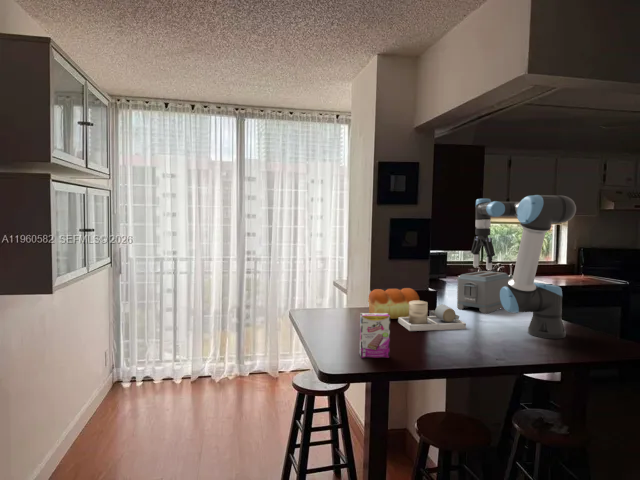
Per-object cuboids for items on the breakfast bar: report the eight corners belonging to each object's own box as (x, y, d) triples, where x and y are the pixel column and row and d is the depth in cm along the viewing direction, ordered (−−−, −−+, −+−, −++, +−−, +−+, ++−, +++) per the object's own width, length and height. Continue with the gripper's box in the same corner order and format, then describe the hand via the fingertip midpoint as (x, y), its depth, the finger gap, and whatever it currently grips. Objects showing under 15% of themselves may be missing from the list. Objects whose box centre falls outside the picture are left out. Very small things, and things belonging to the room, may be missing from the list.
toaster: (452, 310, 251) (453, 275, 250) (480, 302, 274) (481, 270, 273) (483, 315, 238) (484, 278, 237) (510, 306, 260) (510, 273, 259)
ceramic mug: (444, 324, 210) (442, 308, 209) (435, 320, 218) (434, 305, 217) (463, 320, 213) (461, 305, 212) (453, 316, 221) (452, 301, 220)
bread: (410, 312, 244) (410, 286, 244) (419, 317, 232) (420, 290, 231) (368, 314, 240) (368, 288, 239) (375, 319, 227) (375, 291, 227)
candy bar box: (360, 358, 164) (361, 315, 163) (359, 354, 169) (359, 312, 168) (390, 358, 164) (390, 315, 163) (387, 354, 169) (388, 312, 168)
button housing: (449, 319, 226) (449, 313, 226) (435, 320, 225) (435, 313, 225) (443, 316, 234) (443, 310, 234) (429, 317, 233) (429, 310, 233)
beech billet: (429, 324, 209) (429, 304, 208) (410, 324, 208) (411, 304, 208) (424, 320, 218) (425, 300, 217) (407, 320, 217) (407, 300, 217)
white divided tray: (465, 328, 208) (465, 323, 208) (409, 331, 204) (409, 325, 204) (450, 320, 224) (450, 315, 224) (398, 322, 220) (398, 317, 220)
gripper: (502, 228, 217) (501, 270, 218) (477, 227, 242) (477, 265, 243) (488, 228, 216) (488, 270, 217) (465, 227, 241) (464, 265, 242)
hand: (482, 267), depth 230 cm, fingers open, 13 cm apart
